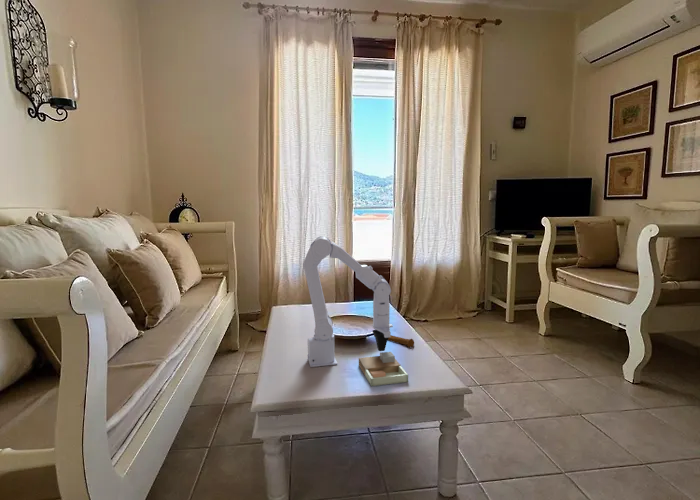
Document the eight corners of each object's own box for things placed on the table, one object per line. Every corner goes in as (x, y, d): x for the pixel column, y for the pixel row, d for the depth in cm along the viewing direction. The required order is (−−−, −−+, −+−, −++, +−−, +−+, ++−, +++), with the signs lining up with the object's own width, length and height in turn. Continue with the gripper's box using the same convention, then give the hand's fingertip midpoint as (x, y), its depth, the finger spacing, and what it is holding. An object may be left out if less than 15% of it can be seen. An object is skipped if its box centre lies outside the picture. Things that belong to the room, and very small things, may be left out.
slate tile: (383, 362, 132) (383, 357, 132) (379, 358, 136) (379, 352, 135) (394, 361, 133) (394, 356, 132) (390, 357, 137) (390, 351, 136)
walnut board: (365, 376, 128) (365, 368, 127) (358, 365, 136) (358, 358, 136) (400, 372, 130) (400, 365, 130) (391, 361, 139) (391, 354, 139)
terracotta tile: (369, 371, 126) (370, 378, 126) (373, 374, 122) (373, 380, 122) (381, 370, 127) (382, 376, 126) (385, 372, 123) (386, 379, 123)
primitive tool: (373, 336, 165) (373, 328, 165) (381, 333, 169) (382, 326, 169) (409, 349, 151) (409, 340, 151) (418, 346, 155) (418, 337, 155)
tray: (371, 386, 121) (371, 379, 121) (365, 376, 128) (365, 369, 127) (408, 382, 124) (408, 374, 123) (400, 372, 130) (400, 365, 130)
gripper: (399, 318, 133) (398, 357, 134) (385, 307, 147) (385, 342, 148) (379, 320, 131) (379, 359, 133) (367, 308, 145) (367, 343, 147)
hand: (381, 350), depth 141 cm, fingers closed
